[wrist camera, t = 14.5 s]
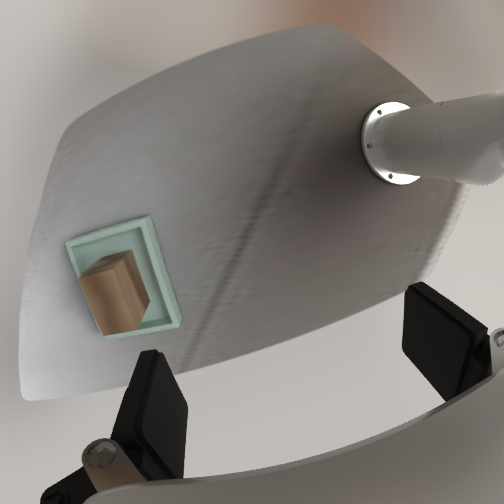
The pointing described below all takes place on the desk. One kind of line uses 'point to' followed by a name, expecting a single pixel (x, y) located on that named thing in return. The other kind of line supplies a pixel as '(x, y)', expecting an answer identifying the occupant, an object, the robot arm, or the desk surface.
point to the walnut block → (116, 293)
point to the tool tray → (149, 263)
